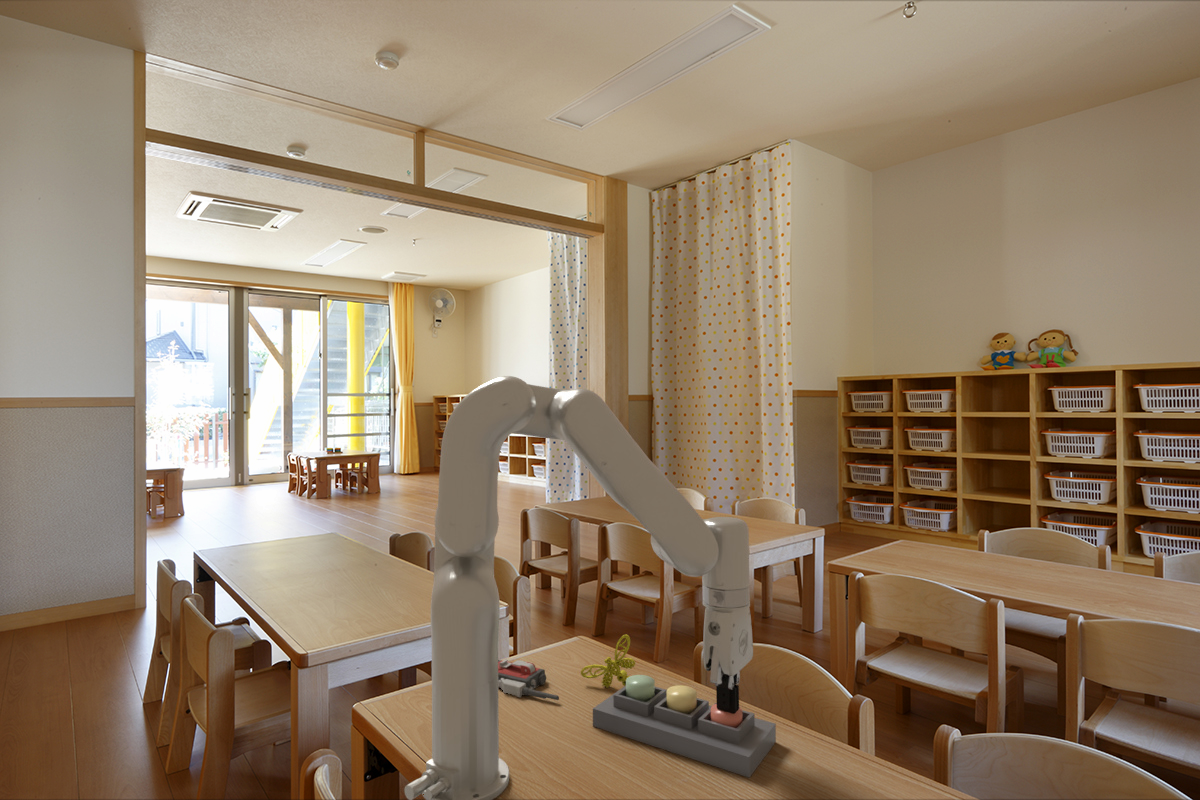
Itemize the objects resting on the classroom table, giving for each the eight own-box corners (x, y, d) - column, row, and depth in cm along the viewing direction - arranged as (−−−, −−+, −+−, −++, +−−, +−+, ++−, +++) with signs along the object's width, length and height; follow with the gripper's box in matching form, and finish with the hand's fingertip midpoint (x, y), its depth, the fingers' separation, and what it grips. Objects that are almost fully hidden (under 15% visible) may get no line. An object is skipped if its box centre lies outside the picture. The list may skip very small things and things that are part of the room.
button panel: (749, 777, 93) (749, 743, 93) (592, 726, 109) (592, 696, 109) (775, 742, 103) (775, 711, 103) (628, 699, 119) (628, 672, 119)
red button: (735, 736, 98) (735, 720, 98) (705, 727, 101) (705, 712, 101) (747, 723, 102) (747, 707, 102) (718, 715, 105) (718, 700, 105)
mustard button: (688, 716, 103) (688, 701, 103) (661, 708, 106) (661, 693, 106) (701, 704, 107) (701, 689, 107) (675, 697, 110) (674, 682, 110)
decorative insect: (610, 716, 123) (577, 673, 125) (614, 708, 126) (583, 666, 128) (658, 677, 120) (624, 634, 123) (662, 671, 123) (629, 628, 126)
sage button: (645, 704, 107) (645, 689, 107) (620, 697, 110) (620, 682, 110) (659, 693, 111) (659, 678, 111) (635, 686, 114) (635, 672, 114)
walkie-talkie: (469, 687, 126) (555, 708, 116) (469, 664, 126) (555, 684, 116) (496, 671, 133) (579, 690, 124) (496, 650, 133) (578, 667, 124)
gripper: (730, 611, 94) (732, 736, 94) (764, 587, 106) (766, 697, 106) (684, 603, 98) (686, 723, 98) (722, 581, 110) (724, 687, 110)
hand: (727, 709), depth 102 cm, fingers closed
